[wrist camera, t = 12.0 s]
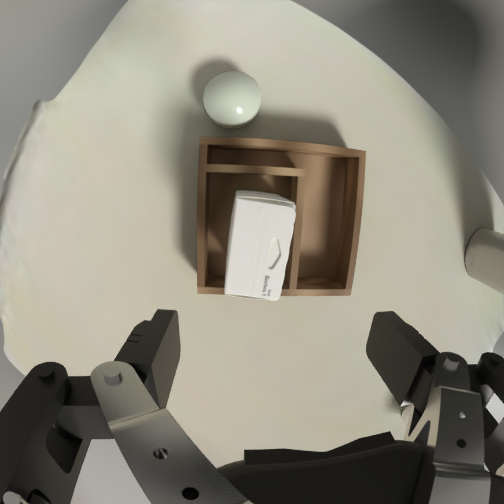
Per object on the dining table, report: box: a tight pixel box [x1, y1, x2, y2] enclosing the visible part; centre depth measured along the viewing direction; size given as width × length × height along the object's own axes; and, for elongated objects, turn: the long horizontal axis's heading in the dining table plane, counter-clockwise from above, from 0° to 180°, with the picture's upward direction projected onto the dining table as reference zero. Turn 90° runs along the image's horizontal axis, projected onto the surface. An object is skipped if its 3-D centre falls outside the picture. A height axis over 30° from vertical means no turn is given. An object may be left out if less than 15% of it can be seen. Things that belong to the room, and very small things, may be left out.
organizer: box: [197, 137, 366, 296], centre depth 31 cm, size 18×17×4 cm
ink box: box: [224, 189, 296, 301], centre depth 28 cm, size 9×5×12 cm, turn 172°
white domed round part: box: [203, 71, 262, 129], centre depth 28 cm, size 6×6×4 cm
